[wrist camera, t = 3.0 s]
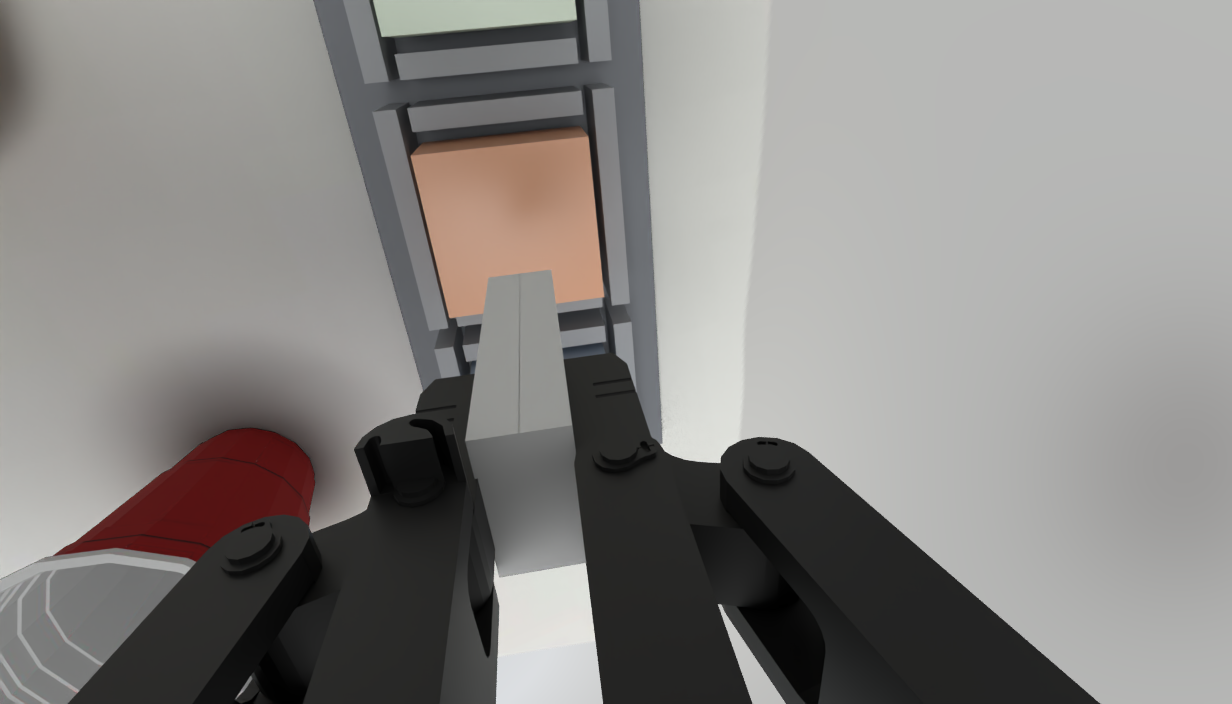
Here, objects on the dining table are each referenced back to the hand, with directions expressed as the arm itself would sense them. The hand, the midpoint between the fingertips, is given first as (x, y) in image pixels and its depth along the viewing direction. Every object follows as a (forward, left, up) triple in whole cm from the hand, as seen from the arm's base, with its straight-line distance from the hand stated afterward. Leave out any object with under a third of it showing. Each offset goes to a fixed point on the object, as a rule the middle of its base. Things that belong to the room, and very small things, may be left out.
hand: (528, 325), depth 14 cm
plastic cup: (-1, -20, -14) cm, 25 cm away
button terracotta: (0, 0, -11) cm, 11 cm away
